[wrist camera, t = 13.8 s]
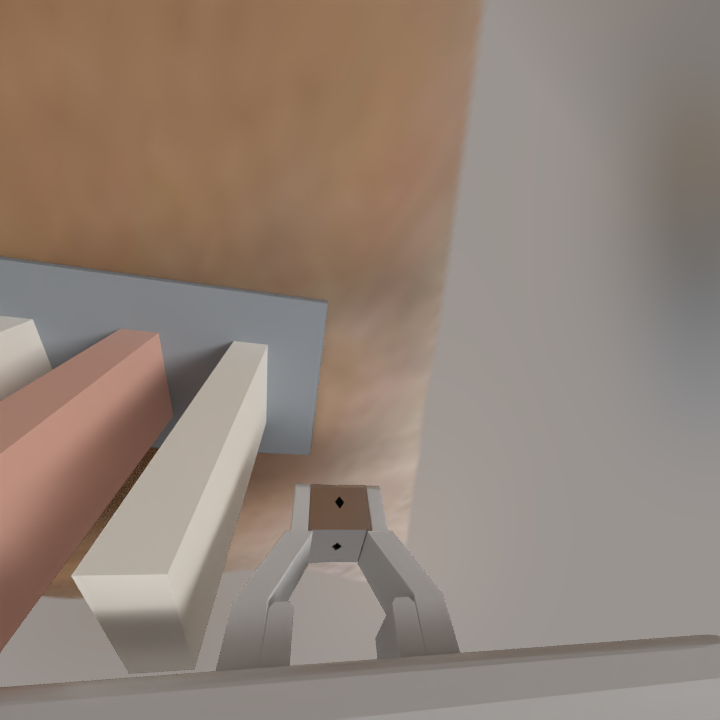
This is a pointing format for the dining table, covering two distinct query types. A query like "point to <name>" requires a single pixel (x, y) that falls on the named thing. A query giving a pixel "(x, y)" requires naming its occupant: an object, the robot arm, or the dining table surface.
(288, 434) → the mat
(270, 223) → the dining table surface
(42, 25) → the dining table surface
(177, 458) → the domino
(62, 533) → the domino
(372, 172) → the dining table surface
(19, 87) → the dining table surface
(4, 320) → the domino
